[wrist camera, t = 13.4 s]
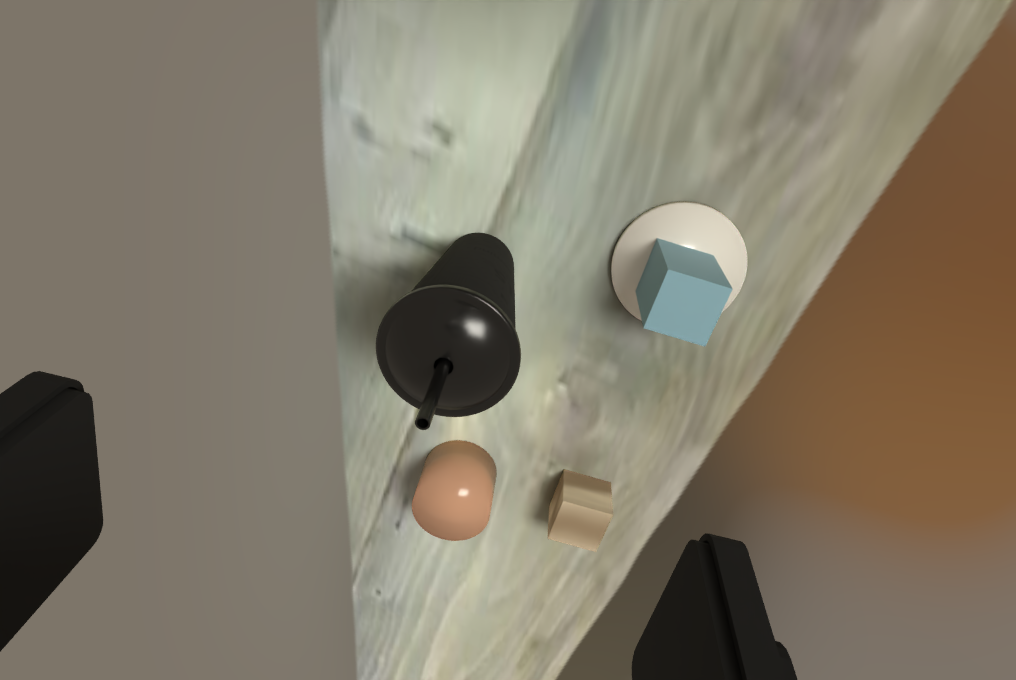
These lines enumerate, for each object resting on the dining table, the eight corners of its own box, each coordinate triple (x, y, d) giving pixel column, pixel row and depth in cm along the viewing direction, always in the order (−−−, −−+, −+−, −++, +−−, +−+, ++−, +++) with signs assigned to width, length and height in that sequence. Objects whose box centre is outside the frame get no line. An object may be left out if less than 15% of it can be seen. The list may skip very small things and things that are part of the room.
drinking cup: (485, 334, 49) (435, 519, 31) (405, 267, 47) (303, 423, 30) (556, 264, 46) (546, 424, 28) (474, 189, 44) (407, 310, 27)
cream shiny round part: (638, 184, 43) (639, 186, 43) (768, 224, 44) (770, 226, 43) (593, 304, 47) (593, 308, 47) (712, 340, 48) (713, 344, 47)
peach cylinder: (433, 431, 54) (420, 469, 49) (505, 451, 54) (498, 491, 49) (418, 487, 56) (404, 528, 52) (486, 506, 57) (478, 549, 52)
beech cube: (563, 468, 54) (563, 500, 51) (610, 481, 54) (613, 515, 51) (549, 504, 56) (547, 538, 52) (594, 517, 56) (596, 552, 53)
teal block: (656, 237, 44) (668, 269, 39) (713, 255, 44) (732, 288, 39) (635, 291, 46) (643, 328, 41) (689, 307, 46) (705, 346, 41)
